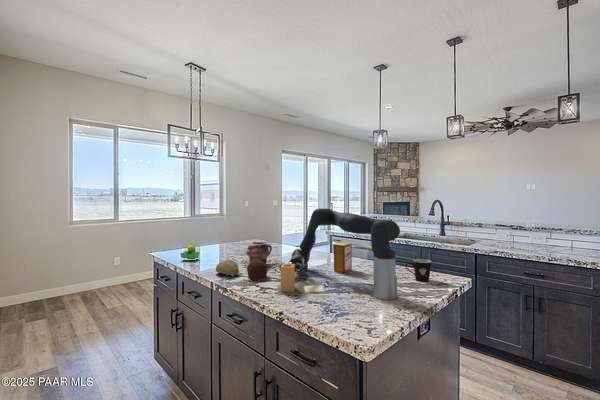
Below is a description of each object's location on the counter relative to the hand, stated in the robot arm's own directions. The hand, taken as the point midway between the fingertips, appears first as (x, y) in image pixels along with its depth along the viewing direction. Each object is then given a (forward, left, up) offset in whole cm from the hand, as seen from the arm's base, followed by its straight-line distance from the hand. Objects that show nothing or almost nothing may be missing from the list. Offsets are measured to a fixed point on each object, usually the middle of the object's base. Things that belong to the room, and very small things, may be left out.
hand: (291, 270), depth 150 cm
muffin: (+18, -12, -8) cm, 23 cm away
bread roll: (+36, -23, -8) cm, 44 cm away
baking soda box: (-30, -27, -8) cm, 41 cm away
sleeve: (+2, +10, -6) cm, 12 cm away
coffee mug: (-66, -6, -8) cm, 67 cm away
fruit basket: (+69, -64, -8) cm, 94 cm away
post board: (-4, +10, -8) cm, 13 cm away
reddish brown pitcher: (+20, -47, -8) cm, 51 cm away
